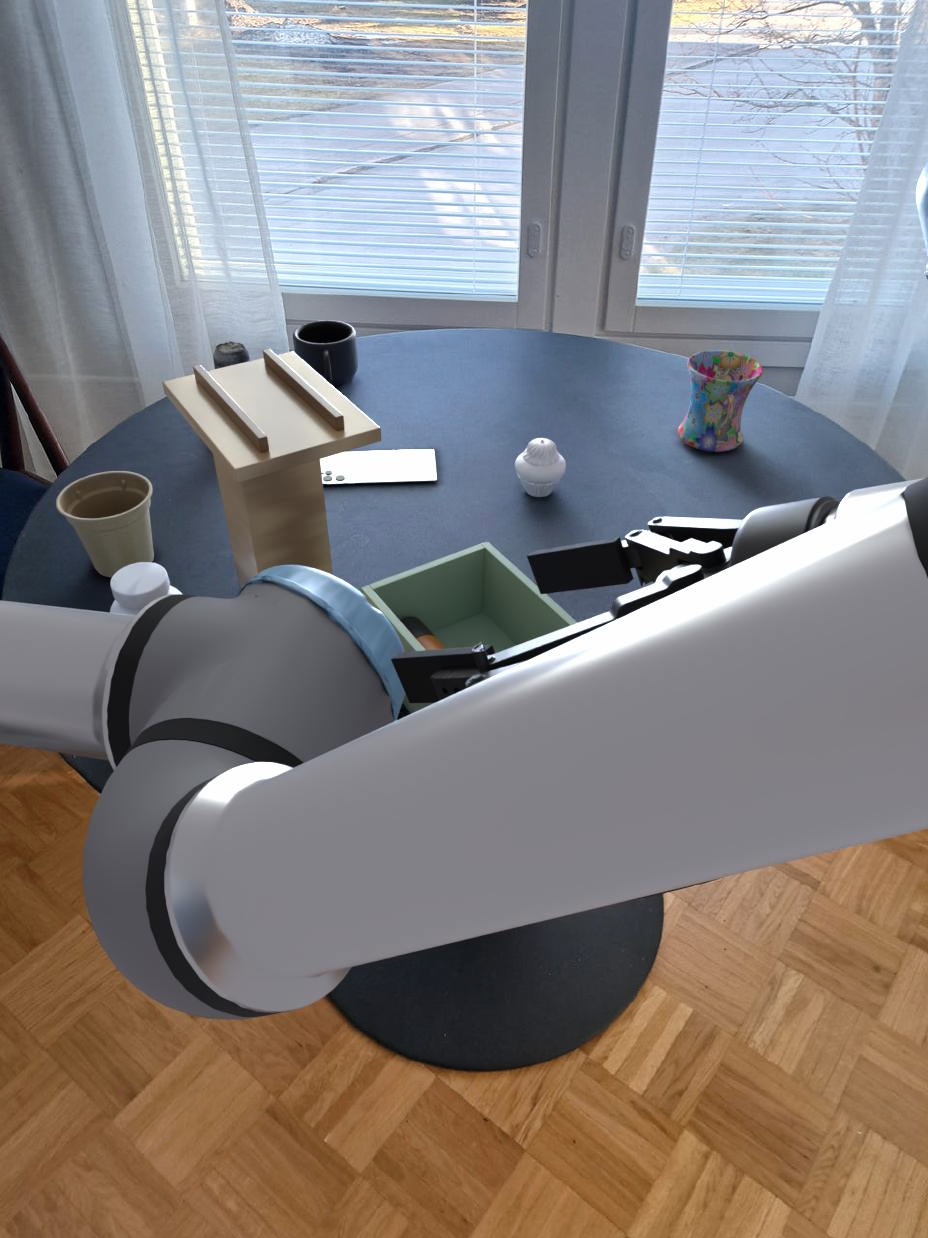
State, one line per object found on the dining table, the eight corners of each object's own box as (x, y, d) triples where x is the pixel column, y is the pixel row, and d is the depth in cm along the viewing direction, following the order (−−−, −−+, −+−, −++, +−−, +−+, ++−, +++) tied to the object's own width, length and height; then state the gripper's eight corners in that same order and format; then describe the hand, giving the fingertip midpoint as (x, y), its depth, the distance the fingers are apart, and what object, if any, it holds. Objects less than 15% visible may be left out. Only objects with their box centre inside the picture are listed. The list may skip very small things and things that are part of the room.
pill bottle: (218, 667, 82) (194, 570, 75) (168, 710, 78) (138, 611, 71) (167, 643, 85) (140, 546, 77) (116, 683, 81) (82, 585, 73)
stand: (282, 790, 72) (215, 459, 51) (221, 687, 80) (144, 370, 60) (409, 732, 76) (394, 409, 56) (338, 641, 85) (303, 334, 65)
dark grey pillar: (260, 415, 121) (247, 330, 113) (282, 438, 116) (270, 351, 108) (197, 431, 117) (178, 345, 109) (217, 456, 112) (199, 368, 104)
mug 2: (669, 422, 120) (682, 348, 113) (737, 424, 120) (754, 350, 113) (681, 467, 111) (696, 390, 104) (754, 470, 111) (775, 392, 104)
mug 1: (297, 367, 132) (292, 321, 128) (357, 363, 133) (353, 317, 129) (298, 403, 123) (292, 355, 119) (362, 399, 124) (359, 351, 120)
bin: (499, 825, 69) (503, 752, 63) (366, 659, 84) (360, 587, 78) (630, 755, 75) (644, 682, 69) (485, 611, 89) (487, 540, 83)
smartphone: (437, 480, 107) (306, 482, 106) (437, 484, 108) (306, 486, 107) (434, 449, 113) (309, 450, 112) (434, 452, 113) (310, 454, 112)
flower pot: (81, 543, 97) (59, 476, 92) (168, 531, 99) (152, 465, 94) (76, 594, 90) (51, 525, 85) (170, 580, 92) (152, 512, 87)
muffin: (545, 472, 110) (549, 422, 105) (573, 495, 106) (579, 444, 101) (503, 485, 107) (506, 434, 103) (530, 509, 103) (534, 457, 99)
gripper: (776, 837, 29) (362, 799, 44) (930, 547, 46) (596, 588, 61) (715, 640, 27) (301, 668, 41) (900, 412, 44) (561, 487, 59)
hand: (476, 620), depth 51 cm, fingers open, 13 cm apart
